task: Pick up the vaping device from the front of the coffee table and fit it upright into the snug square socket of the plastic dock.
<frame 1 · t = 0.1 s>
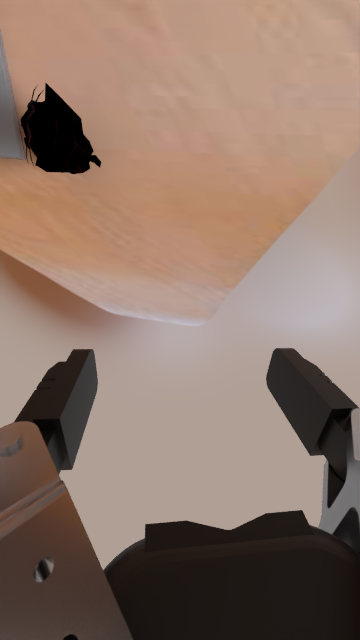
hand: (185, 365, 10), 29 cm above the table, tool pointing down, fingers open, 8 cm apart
cat figurine: (81, 155, 30), on the table
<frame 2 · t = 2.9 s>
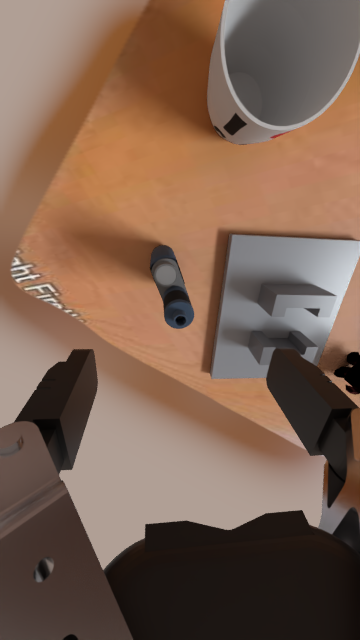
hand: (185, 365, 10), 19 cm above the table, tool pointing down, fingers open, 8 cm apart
cup: (235, 108, 22), on the table
cat figurine: (349, 365, 37), on the table
vaping device: (166, 266, 27), on the table
dock: (275, 314, 32), on the table
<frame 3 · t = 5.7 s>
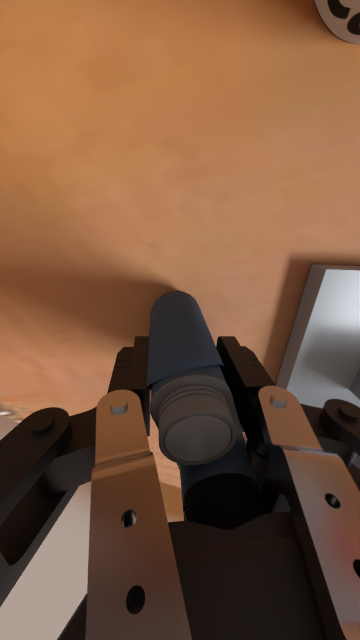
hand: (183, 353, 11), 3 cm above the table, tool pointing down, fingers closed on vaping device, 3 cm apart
vaping device: (181, 327, 14), on the table, touching gripper
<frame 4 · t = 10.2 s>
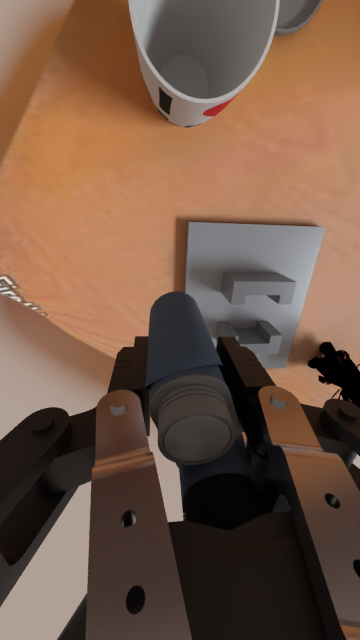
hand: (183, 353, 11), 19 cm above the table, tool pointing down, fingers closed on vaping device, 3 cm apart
cup: (182, 91, 21), on the table
cat figurine: (323, 355, 37), on the table
vaping device: (180, 326, 14), point 16 cm above the table, touching gripper
dock: (242, 304, 31), on the table
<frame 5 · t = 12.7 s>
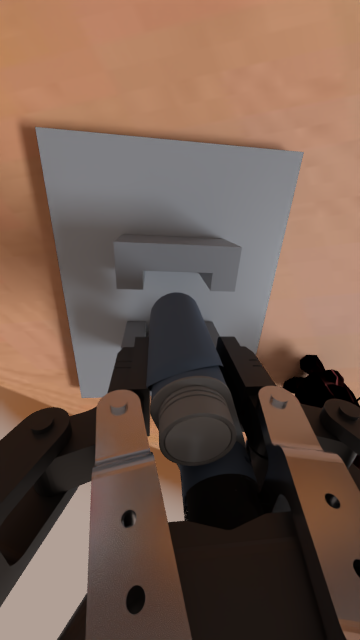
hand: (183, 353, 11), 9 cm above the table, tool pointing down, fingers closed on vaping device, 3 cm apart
cat figurine: (306, 374, 25), on the table
vaping device: (181, 327, 14), point 6 cm above the table, touching gripper
dock: (170, 293, 19), on the table
when the fingers open (4 cm above the table, at t = 14.6 s): vaping device stays where it is, resting on dock.
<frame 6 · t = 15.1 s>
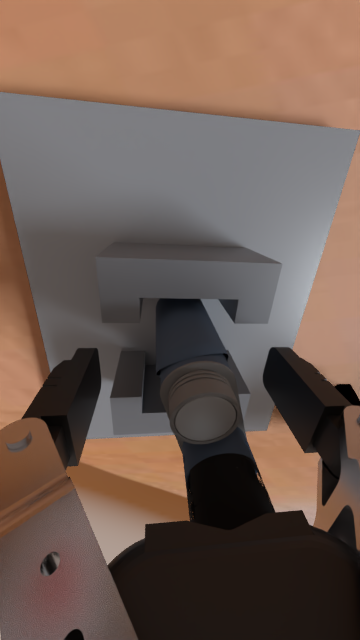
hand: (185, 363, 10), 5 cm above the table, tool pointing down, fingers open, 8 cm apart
vaping device: (183, 322, 14), point 1 cm above the table, touching dock
dock: (176, 315, 15), on the table
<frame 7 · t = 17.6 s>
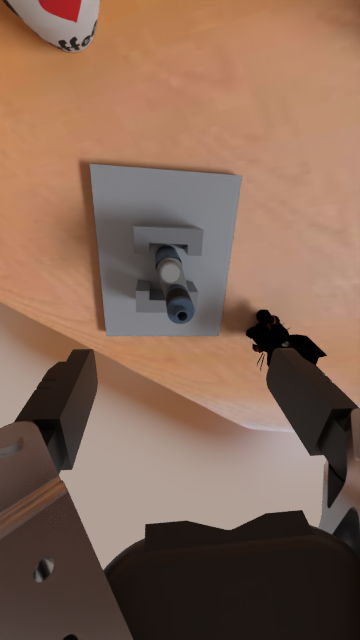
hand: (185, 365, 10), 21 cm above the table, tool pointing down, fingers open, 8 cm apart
cup: (66, 12, 20), on the table
cat figurine: (262, 325, 35), on the table
vaping device: (169, 265, 29), point 1 cm above the table, touching dock
dock: (165, 263, 30), on the table
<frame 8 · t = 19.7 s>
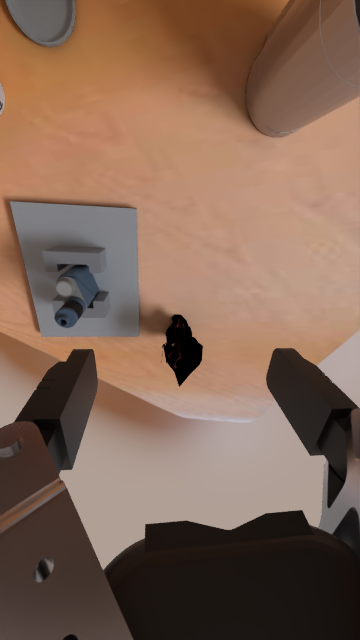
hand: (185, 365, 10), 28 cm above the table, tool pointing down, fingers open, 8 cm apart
cat figurine: (178, 327, 42), on the table
vaping device: (87, 279, 35), point 1 cm above the table, touching dock
dock: (86, 276, 36), on the table
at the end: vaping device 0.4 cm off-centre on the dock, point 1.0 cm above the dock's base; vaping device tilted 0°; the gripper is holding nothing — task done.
